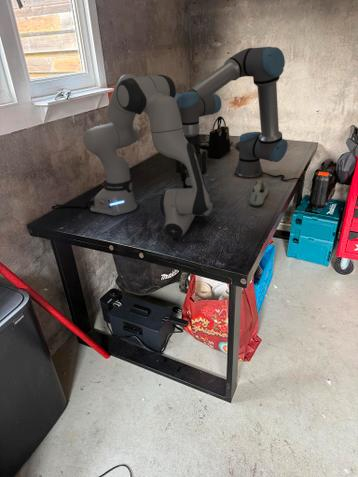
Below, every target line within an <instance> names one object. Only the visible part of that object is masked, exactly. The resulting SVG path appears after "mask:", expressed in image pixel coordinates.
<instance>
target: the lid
mask: <svg viewBox="0 0 358 477" xmlns="http://www.w3.org/2000/svg"><path fill="white" fill-rule="evenodd" d="M185 184H186V185H190V186H192V183H191V180H190V176H189V177H187V178H186V179H185Z"/></svg>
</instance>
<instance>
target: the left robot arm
mask: <svg viewBox="0 0 358 477" xmlns="http://www.w3.org/2000/svg"><path fill="white" fill-rule="evenodd" d="M176 90H177V89H176V84H175V82H174V80H173V79H172V78H171V77H169V76H168V75H164V74H157V75H156V74H144V75H140V76H137V75H136V74H133V73H124V74H123V75H122V76H120V78H119V79H118V80H117V82H116V84H115V86H114V88H113V90H112V92H111V95H110V99H109V101H108V105H107V106H106V107H107V108H106V118H107V119H108V121H109V122H108V123H105V124H101V125H96V126H93V127H90V128H89V129H87V130H85V132H84V134H83V137H82V140H83V145H84V147H85V148H86V150H87V151H88V152H89V153H91V154H93V155H95V156H96V157H97V159H99V161H100V162H101V164H102V167H103V170H104V175H105V180H103V182H102V183H101V186H103V188H102V189H101V190H100V191H99V192H97V194H96V195H94V196H92V197H91V198H90V200H88V201H86V202H85V205H84V206H83V205H79V204H55V205H56V206H54V205H52V206H51V209H54V208H55V207H60V208H61V207H62V208H80V209H87V207H88V205H89V204H90V212H94V213H98V214H103V215H108V216H112V217H113V216H114V217H116V216H119V215H121V214H122V215H123V214H127V213H131V212H133V211H135V210H136V209H137V208H138V205H139V204H138V203H137V200H136V198H135V195H134V190H133V189H134V186H133V180H132V177H131V173H130V172H131V170H130V163H129V162H128V160H127V159H126V158H124V157H122V156H119V155H118V152H117V150H119V149H123V148H127V147H129V146H131V145H133V144H135V143H136V142H137V141H138V139H139V135H140V132H139V129H138V126H137V125H136V123H135V122H134V120H135V118H136V115H140V116H141V114H143V113H144V114H146V115H147V117H148V119H149V120H148V121H149V126H150V127H149V128H150V134H151V141H152V145H153V147H154V149H155V150H156V151H157V152H158V153H159V154H161V155H162V156H164V157H167V158H170V159H172V160H175V161H176V160H178V161H180V163H181V162H182V163H183V164H184V165H185V166H186V169H187V172H188V176H189V177H190V180H191V183H192V187H193V188H177V187H176V188H167V189H165V190H164V191H163V193H162V195H161V196H160V200H159V208H160V211H161V214H162V215H163V217H164V218H165V220H164V228H163V229H164V232H165V233H166V235H168V236H169V237H171V238H173V239H175V238H177V239H179V238H181V237H183V236H184V235H185V234H186V233H187V231H188V230H189V229H190V226H191V224H192V223H193V221H194V219H195V217H196V216H198V217H199V216H200V217H207V216H210V215H211V212H212V211H213V206H214V205H213V203H212V202H211V198H210V194H209V192H208V189H207V186H206V183H205V180H204V179H205V178H204V174H203V175H202V172H201V169H202V167H201V168H200V166H201V163H200V164H199V162H200V160H199V161H198V159H199V156H198V157H197V154H196V151H195V148H194V146H193V145H192V144H191V143H189V142H188V141H187V140H186V138H185V136H184V133H183V129H182V121H181V116H180V112H179V108H178V105H177V102H176V100H175V95H176V94H177V91H176ZM182 163H181V164H182Z"/></svg>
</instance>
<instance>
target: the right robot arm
mask: <svg viewBox="0 0 358 477" xmlns="http://www.w3.org/2000/svg"><path fill="white" fill-rule="evenodd" d="M285 65H286V60H285V55H284V52H283V51H282V50H281V48H279V47H276V46H264V47H263V46H262V47H248V48H245V49H242V50H240V51H238V52H237V53H235V54H233V55H232V56H230V57H228V58H227V59H226V60H225V61H224V62H223V65H221V66H220V67H219V68H217V69H216V70H214V71H213V72H211V73H210V74H209V75H208V76H206V77H205V78H203V79H202V80H200V81H199V82H198V83H196V84H195V85H193V86H192V87H190V88H189V89H187V90H185V92H176V95H175V100H176V102H177V105H178V108H179V112H180V116H181V121H182V129H183V133H184V136H185V138H186V140H187V141H188V142H189V143H191V144H192V145H193V146H194V148H195V151H196V154H197V157H198V161H199V164H200V168H201V172H202V175H203V176H204V175H206V173H207V154H208V149H204V148H201V147H200V141H199V137H200V118H201V117H206V116H210V115H214V114H217V113H219V112H220V111H221V109H222V99H221V97H220V96H219V95H218V94H216V93H217V92H218V91H220V90H221V89H222V88H224V87H225V86H226V85H227V84H229V83H231V82H232V81H237V80H238V79H239V78H240V79H241V78H244V77H250V78H251V77H252V79H253V81H252V82H253V84H254V86H256V87H257V97H258V98H257V99H258V109H259V121H260V122H259V123H260V131H250V132H244V133H242V134H240V136H239V141H238V142H239V150H238V162H237V165H236V166H234V169H235V170H234V174H235V176H236V177H239V178H243V179H255V178H259V177H261V176H262V175H265V176H269V177H272V178H279V177H281V178H280V180H281V181H282V182H288V181H289V182H290V181H293V180H298V181H300V182H303V180H302V179H301V178H299V177H291V178H287V179H284V178H285V175H284V174H278V175H273V174H270V173H268V172H267V173H266V172H264V171H263V169H262V165H261V160H264V161H269V162H274V163H277V162H280V161H281V160H282V159H284V157H285V156H286V154H287V150H288V146H289V145H288V141H287V139H284V138H283V132H281V131H280V128H279V127H280V126H279V106H278V88H277V82H278V81H279V80H280V77H281V76H282V74H283V73H284V68H285ZM199 153H200V155H201V161H200V159H199ZM186 169H187V167H186V166H185V165H184V164H183V163H181V162H180V161H178V160H176V159H175V173H177V174H179V175H180V181H181V182H182V187H183V188H187V186H186V184H185V179H186V178H188V177H187V172H185V171H186Z"/></svg>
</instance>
